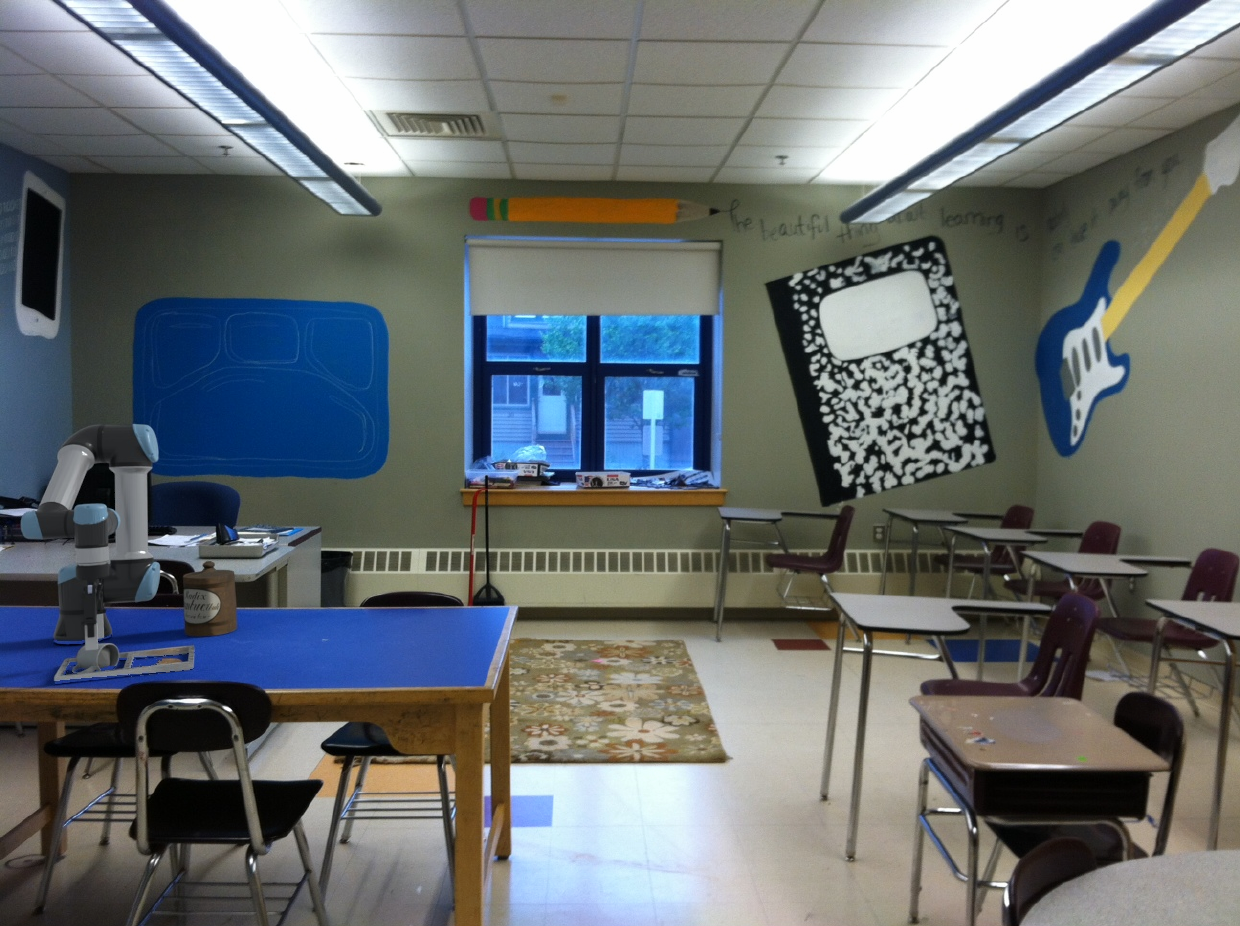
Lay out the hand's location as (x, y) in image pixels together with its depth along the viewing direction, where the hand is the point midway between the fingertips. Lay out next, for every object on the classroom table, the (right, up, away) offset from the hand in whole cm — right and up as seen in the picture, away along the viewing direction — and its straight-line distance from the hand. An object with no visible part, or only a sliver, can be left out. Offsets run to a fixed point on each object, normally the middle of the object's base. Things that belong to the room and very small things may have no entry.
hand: (95, 644), depth 232 cm
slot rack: (+7, -7, +4) cm, 11 cm away
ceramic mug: (0, -8, 0) cm, 8 cm away
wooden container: (+10, -5, +44) cm, 45 cm away
